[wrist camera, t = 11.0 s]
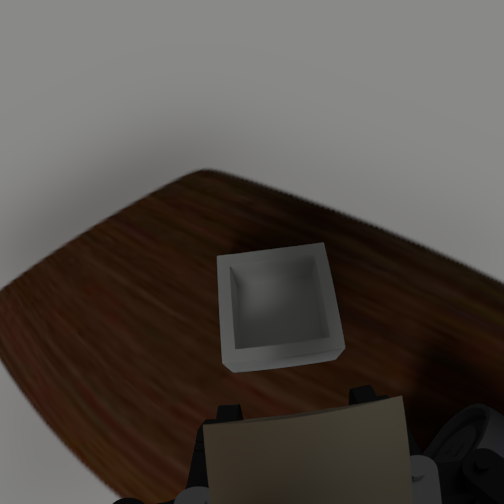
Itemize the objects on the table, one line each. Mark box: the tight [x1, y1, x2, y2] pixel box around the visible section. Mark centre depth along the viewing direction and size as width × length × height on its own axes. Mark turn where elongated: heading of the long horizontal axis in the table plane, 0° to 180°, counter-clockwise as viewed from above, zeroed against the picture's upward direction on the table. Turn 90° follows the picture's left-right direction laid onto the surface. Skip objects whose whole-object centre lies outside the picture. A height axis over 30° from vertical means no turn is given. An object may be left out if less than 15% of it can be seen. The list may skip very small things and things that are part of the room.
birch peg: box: [203, 396, 413, 504], centre depth 9 cm, size 4×4×10 cm
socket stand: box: [217, 242, 345, 373], centre depth 26 cm, size 9×9×5 cm
